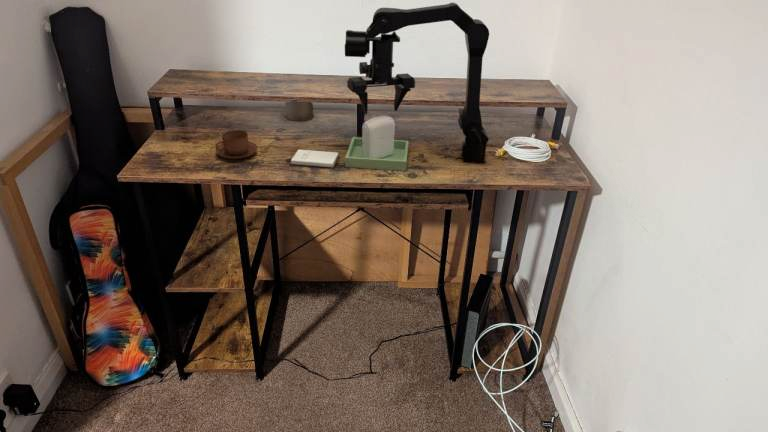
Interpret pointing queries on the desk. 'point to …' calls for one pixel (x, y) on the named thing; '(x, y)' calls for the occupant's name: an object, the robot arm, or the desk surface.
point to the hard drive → (315, 158)
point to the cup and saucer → (235, 145)
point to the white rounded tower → (378, 137)
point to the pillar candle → (299, 111)
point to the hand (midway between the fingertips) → (380, 112)
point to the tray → (389, 162)
